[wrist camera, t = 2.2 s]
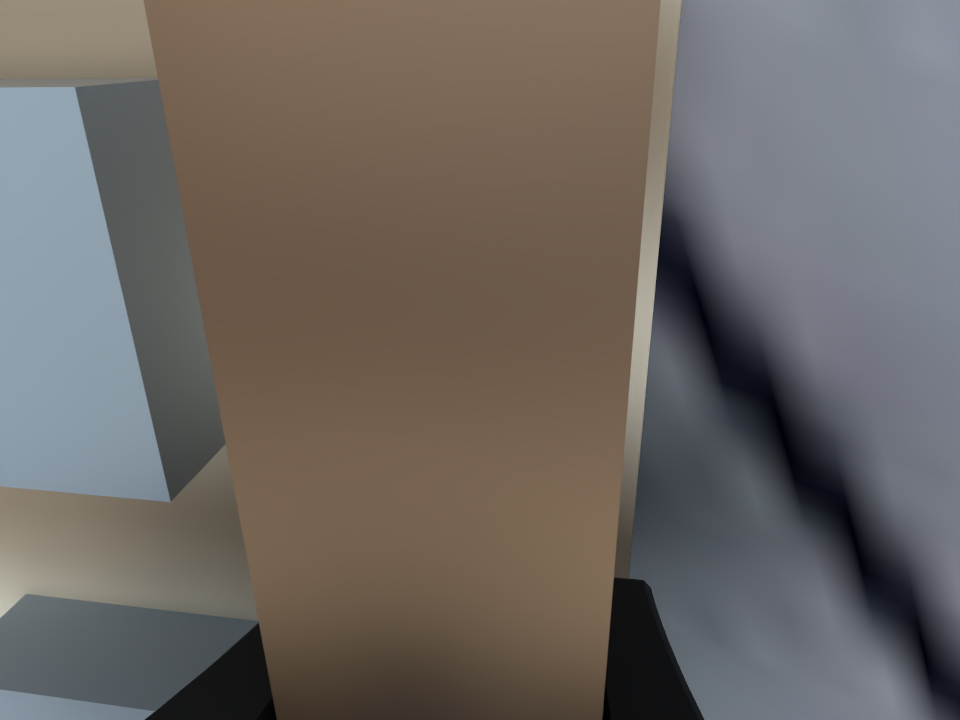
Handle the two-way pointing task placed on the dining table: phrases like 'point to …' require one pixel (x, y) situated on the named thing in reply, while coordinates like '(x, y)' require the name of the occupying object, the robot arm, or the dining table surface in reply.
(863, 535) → the dining table surface
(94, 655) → the far tile
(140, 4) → the birch plate
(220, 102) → the scraper bar
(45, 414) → the near tile
